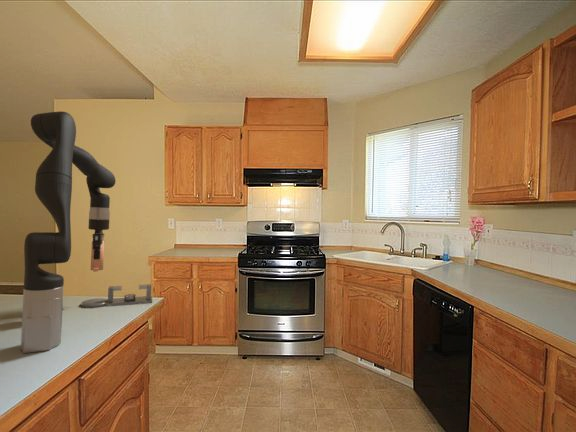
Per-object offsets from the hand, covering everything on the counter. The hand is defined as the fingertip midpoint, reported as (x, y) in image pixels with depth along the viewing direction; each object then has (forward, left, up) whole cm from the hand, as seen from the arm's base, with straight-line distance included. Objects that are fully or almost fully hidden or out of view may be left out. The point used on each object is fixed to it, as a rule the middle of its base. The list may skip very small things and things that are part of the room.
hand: (97, 258), depth 131 cm
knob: (0, 0, -5) cm, 5 cm away
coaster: (0, 0, -20) cm, 20 cm away
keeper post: (0, -13, -20) cm, 24 cm away
